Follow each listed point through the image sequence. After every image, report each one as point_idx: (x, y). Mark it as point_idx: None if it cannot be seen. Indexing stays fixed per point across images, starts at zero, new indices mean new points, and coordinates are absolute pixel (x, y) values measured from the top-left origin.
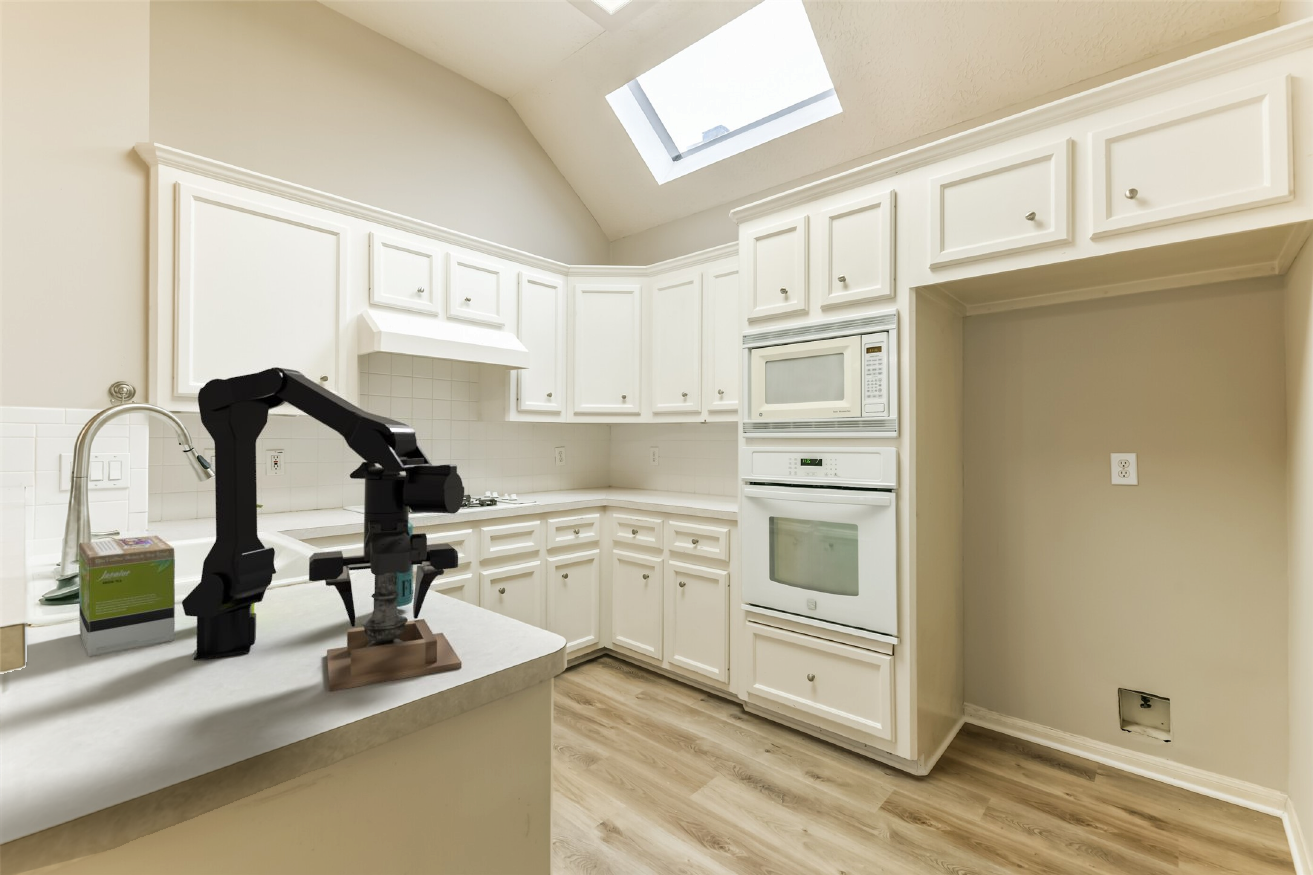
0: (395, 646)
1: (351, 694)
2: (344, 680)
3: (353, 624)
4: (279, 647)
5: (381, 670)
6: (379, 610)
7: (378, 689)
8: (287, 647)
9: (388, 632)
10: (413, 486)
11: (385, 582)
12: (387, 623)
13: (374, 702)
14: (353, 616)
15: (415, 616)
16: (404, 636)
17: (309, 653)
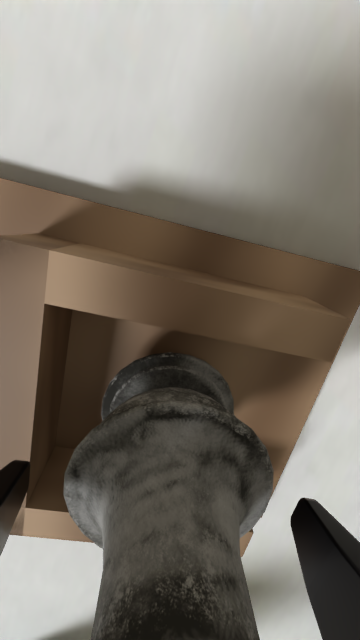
0: (184, 288)
1: (331, 204)
2: (330, 279)
3: (315, 505)
4: None
5: (222, 277)
6: (227, 544)
7: (260, 183)
8: (295, 579)
9: (184, 396)
10: None
11: None
12: (188, 438)
13: (316, 73)
14: (345, 545)
15: (20, 467)
16: None
17: (278, 530)
